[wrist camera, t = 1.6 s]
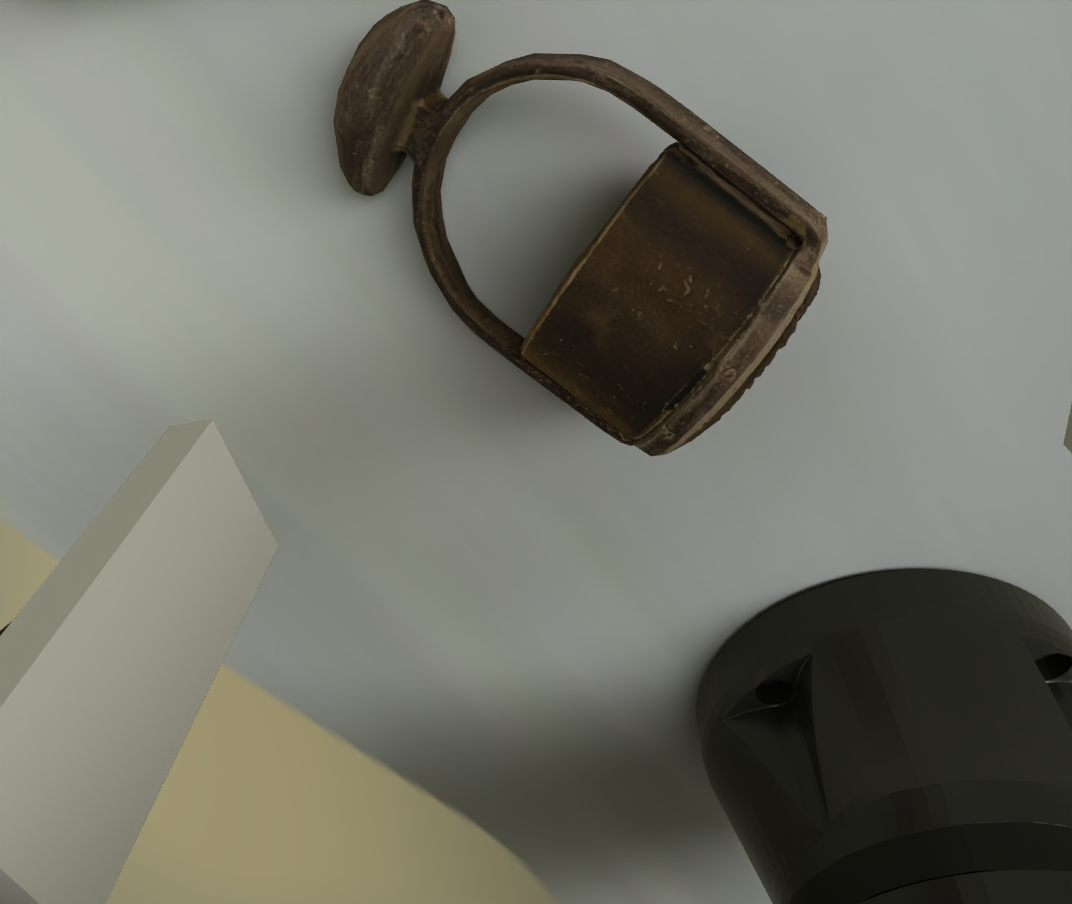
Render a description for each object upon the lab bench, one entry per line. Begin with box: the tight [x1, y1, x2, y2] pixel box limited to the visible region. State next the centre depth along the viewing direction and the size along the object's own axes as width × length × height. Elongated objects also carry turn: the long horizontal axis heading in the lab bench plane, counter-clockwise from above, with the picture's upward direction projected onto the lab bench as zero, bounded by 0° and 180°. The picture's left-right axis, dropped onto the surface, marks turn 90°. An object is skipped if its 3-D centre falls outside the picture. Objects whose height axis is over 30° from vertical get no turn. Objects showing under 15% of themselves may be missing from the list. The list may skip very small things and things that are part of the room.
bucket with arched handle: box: [334, 0, 828, 456], centre depth 19 cm, size 7×13×10 cm
